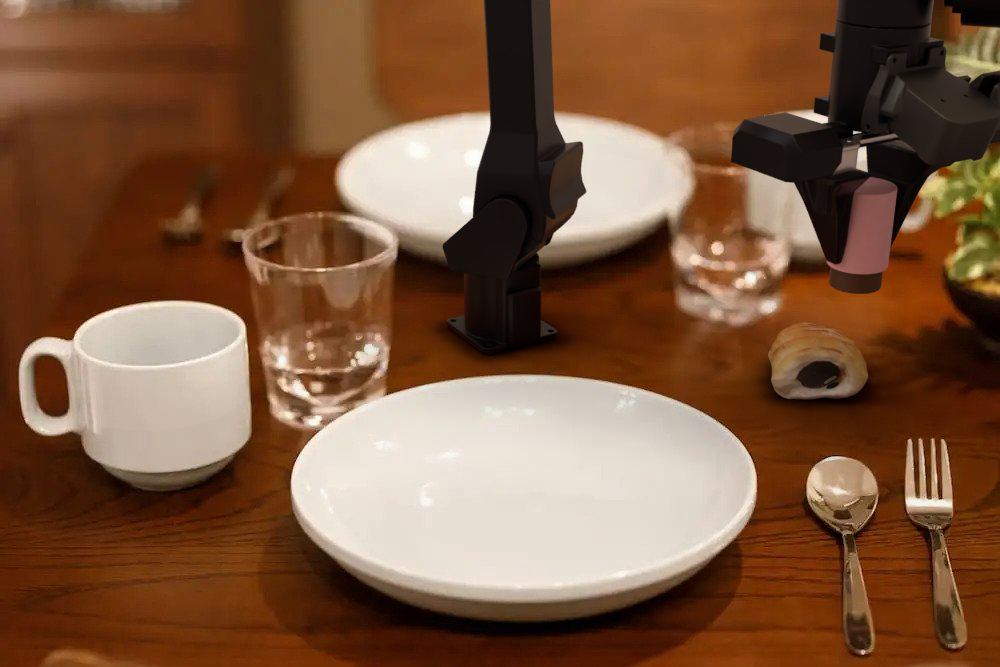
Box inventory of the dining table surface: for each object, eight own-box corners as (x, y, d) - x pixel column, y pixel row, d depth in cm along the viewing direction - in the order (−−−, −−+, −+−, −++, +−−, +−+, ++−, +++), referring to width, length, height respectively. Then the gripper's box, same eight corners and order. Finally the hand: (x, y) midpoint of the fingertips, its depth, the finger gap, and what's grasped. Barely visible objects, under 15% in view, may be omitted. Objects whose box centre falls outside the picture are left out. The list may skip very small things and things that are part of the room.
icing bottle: (811, 281, 89) (821, 182, 86) (855, 270, 90) (866, 172, 88) (854, 300, 85) (865, 198, 83) (898, 288, 87) (910, 188, 84)
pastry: (762, 345, 98) (767, 298, 97) (854, 350, 98) (860, 303, 96) (770, 401, 90) (775, 350, 88) (870, 407, 89) (877, 356, 88)
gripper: (867, 60, 70) (839, 326, 76) (1094, 25, 79) (1051, 267, 85) (733, 27, 79) (718, 268, 85) (950, -1, 88) (922, 220, 94)
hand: (857, 256), depth 87 cm, fingers closed on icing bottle, 4 cm apart
